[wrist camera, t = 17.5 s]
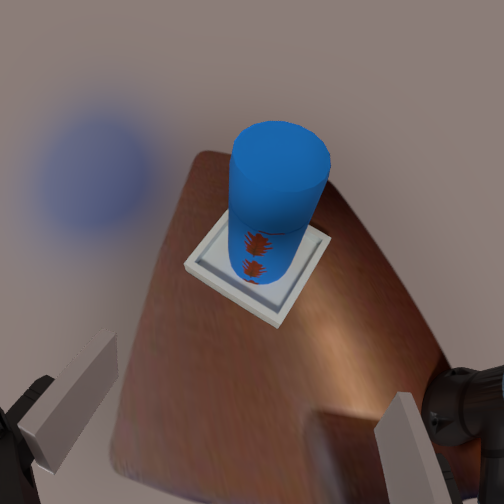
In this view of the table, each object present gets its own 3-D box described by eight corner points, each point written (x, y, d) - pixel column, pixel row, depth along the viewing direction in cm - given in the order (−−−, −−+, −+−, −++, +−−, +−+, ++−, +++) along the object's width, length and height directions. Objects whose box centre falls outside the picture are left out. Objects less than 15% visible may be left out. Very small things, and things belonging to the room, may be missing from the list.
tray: (326, 245, 58) (331, 237, 55) (277, 328, 50) (280, 324, 48) (243, 198, 61) (244, 188, 58) (186, 270, 54) (183, 263, 51)
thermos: (219, 275, 53) (215, 176, 30) (238, 221, 57) (246, 111, 35) (283, 293, 52) (325, 206, 30) (297, 238, 57) (337, 135, 34)
